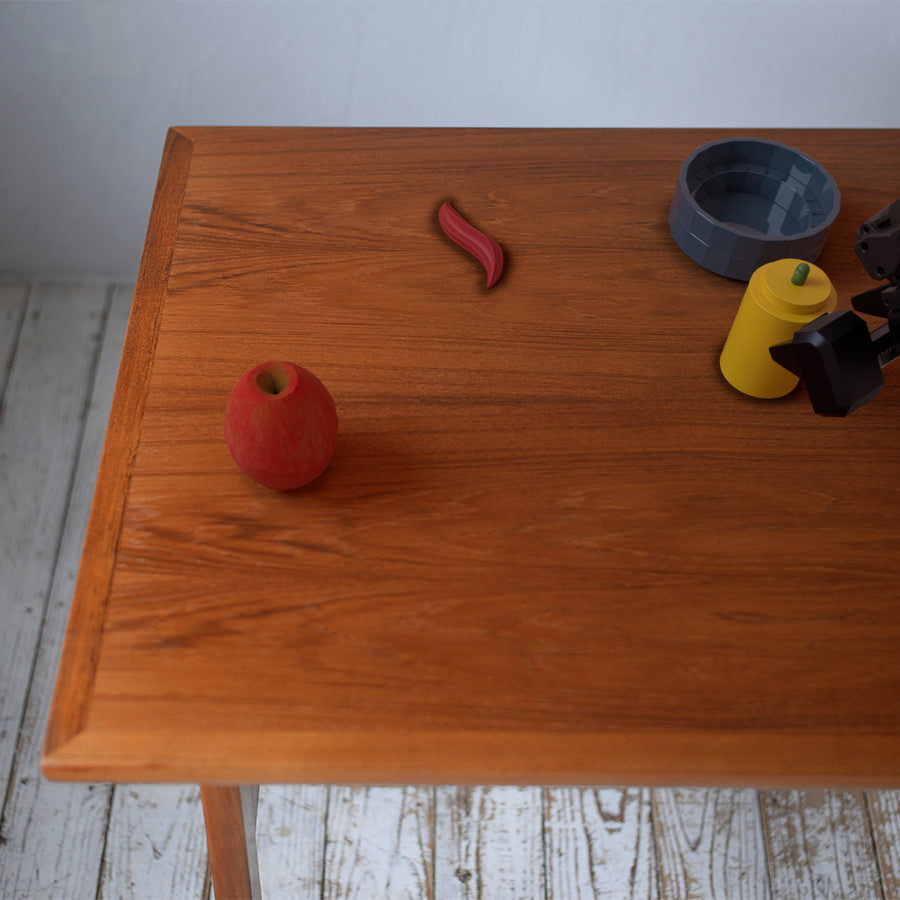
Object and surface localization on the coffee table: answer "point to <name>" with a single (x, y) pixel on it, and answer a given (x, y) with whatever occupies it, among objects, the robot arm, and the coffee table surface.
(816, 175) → the bowl
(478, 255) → the cayenne pepper
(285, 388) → the apple
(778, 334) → the pepper
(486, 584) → the coffee table surface
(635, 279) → the coffee table surface
